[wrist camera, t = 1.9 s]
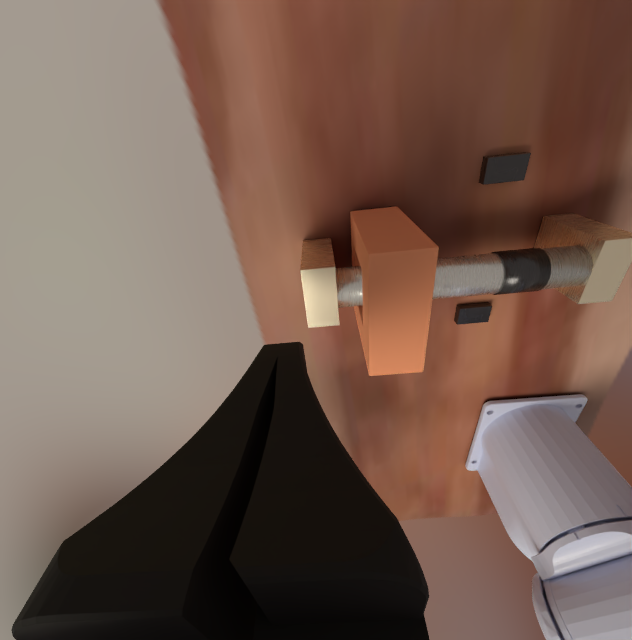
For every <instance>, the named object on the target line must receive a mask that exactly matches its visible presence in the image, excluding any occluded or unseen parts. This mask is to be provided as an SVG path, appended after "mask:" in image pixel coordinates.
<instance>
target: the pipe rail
mask: <svg viewBox="0 0 632 640" xmlns="http://www.w3.org/2000/svg"><path fill="white" fill-rule="evenodd" d="M530 154H531V153H526V152H523V153H514V154H505V155H496V156H487V157H483V163H482V168H481V174H480V179H479V183H481V184H493V183H502V182H511V181H520V180H524V178H525V174H526V170H527V166H528V162H529V158H530ZM631 262H632V233H630V232H628V231H625V230H622V229H619V228H616V227H613V226H610V225H607V224H604V223H601V222H598V221H595V220H592V219H589V218H586V217H583V216H580V215H577V214H575V213H570V214H560V215H550V216H543V219H542V223H541V226H540V229H539V233H538V236H537V239H536V242H535V246H534V248H529V249H518V250H508V251H498V252H492V253H490V254H479V255H469V256H459V257H448V258H438V259H437V266H436V274H435V282H434V290H433V298H432V299H440V298H451V297H462V296H473V295H484V294H494V295H498V294H509V293H520V292H531V291H539V290H541V289H551V288H555V289H556V290H558V291H559V292H561V293H562V294H564V295H565V296H567V297H568V298H570V299H571V300H573V301H574V302H576V303H577V304H585V303H596V302H607V301H612V300H613V298H614V296H615V294H616V292H617V290H618V288H619V286H620V284H621V282H622V280H623V278H624V276H625V274H626V272H627V270H628V268H629V266H630V264H631ZM300 272H301V279H302V286H303V293H304V300H305V308H306V315H307V322H308V328H310V327H322V326H333V325H339V313H338V308H340V307H351V306H363V292H362V269H361V266H355V267H345V268H335V262H334V256H333V249H332V243H331V238H324V239H314V240H304V241H303V246H302V257H301V268H300ZM491 308H492V306H491V305H490V304H489V303H488V302H485V303H474V304H463V305H457V307H456V313H455V319H454V321H455V322H456V324H468V323H479V322H488V320H489V316H490V312H491Z"/></svg>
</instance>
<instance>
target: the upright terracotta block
mask: <svg viewBox="0 0 632 640" xmlns="http://www.w3.org/2000/svg"><path fill="white" fill-rule="evenodd" d="M350 218H351V245H352V267H355V266H361V269H362V292H363V306H354V310H355V314H356V319H357V323H358V328H359V332H360V337H361V341H362V346H363V350H364V355H365V359H366V364H367V368H368V373H369V376H376V375H389V374H401V373H414V372H423V369H424V361H425V354H426V346H427V338H428V330H429V322H430V314H431V306H432V298H433V290H434V282H435V274H436V266H437V259H438V251H439V247H438V246H437V245H436V244H435V243H434V242H433V241H432V240H431V239H430V238H429V237H428V236H427V235H426V234H425V233H424V232H423V231H422V230H421V229H420V228H419V227H418V226H417V225H416V224H415V223H414V222H412V221H411V220H410V219H409V218H408V217H407V216H406V215H405V214H404V213H403V212H402V211H401V210H400V209H399V208H398V207H397V206H396V207H386V208H377V209H367V210H358V211H350Z"/></svg>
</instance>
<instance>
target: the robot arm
mask: <svg viewBox="0 0 632 640" xmlns="http://www.w3.org/2000/svg"><path fill="white" fill-rule="evenodd" d="M587 400H588V399H587V398H586V397H585V396H584V395H582V394H578V395H564V396H550V397H537V398H523V399H510V400H496V401H488V402H486V403H484V405H483V408H482V411H481V414H480V418H479V421H478V425H477V428H476V431H475V435H474V438H473V441H472V445H471V448H470V451H469V455H468V458H467V462H466V468H467V470H470V471H474V470H478V472H479V474H480V476H481V478H482V480H483V483H484V485H485V487H486V489H487V491H488V493H489V495H490V497H491V499H492V502H493V504H494V506H495V508H496V510H497V512H498V514H499V516H500V518H501V520H502V522H503V525H504V527H505V529H506V531H507V533H508V535H509V536H510V538H511V540H512V541H513V542H514V544H515V545H516V546H517V547H518V549H519V550H521V552H522V553H523V554H525V555H526V556H527V557H528V558H529V559H530V560H531V561H533V563H534V565H535V567H536V569H537V571H538V573H537V574H535V576H534V577H533V580H532V599H533V605H534V609H535V612H536V616H537V619H538V621H539V624H540V627H541V629H542V631H543V634H544V636H545V638H546V640H632V487H631V486H630V485H629V484H628V483H627V481H626V480H625V479H624V478H623V477H622V476H621V475H620V474H619V472H618V471H617V470H616V469H615V468H614V467H613V465H612V464H611V463H610V462H609V461H608V460H607V459H606V457H605V456H604V455H603V454H602V453H601V452H600V451H599V450H598V448H597V447H596V446H595V445H594V444H593V443H592V442H591V440H590V439H589V438H588V437H587V436H586V435H585V434H584V432H583V431H582V430H581V429H580V428H579V427H578V426H577V424H576V423H575V422H576V420H577V419H578V417H579V415H580V413H581V412H582V410H583V408H584V406H585V404H586V403H587ZM428 598H429V592H428V586H427V583H426V580H425V577H424V574H423V571H422V569H421V566H420V564H419V562H418V559H417V557H416V555H415V553H414V551H413V549H412V547H411V545H410V543H409V541H408V539H407V537H406V535H405V533H404V531H403V529H402V528H401V526H400V524H399V521H398V519H397V518H396V517H395V515H394V514H393V513H392V512H391V510H390V509H389V508H388V507H387V506H386V504H385V503H384V502H383V501H382V499H381V498H380V497H379V496H378V494H377V493H376V492H375V490H374V489H373V488H372V487H371V485H370V484H369V482H368V481H367V480H366V478H365V477H364V476H363V474H362V473H361V472H360V470H359V469H358V467H357V466H356V464H355V463H354V461H353V460H352V458H351V457H350V455H349V454H348V452H347V451H346V449H345V448H344V446H343V445H342V443H341V442H340V440H339V438H338V437H337V435H336V433H335V432H334V430H333V428H332V426H331V425H330V423H329V421H328V419H327V417H326V415H325V413H324V411H323V409H322V407H321V405H320V403H319V401H318V399H317V397H316V394H315V392H314V390H313V387H312V385H311V382H310V379H309V376H308V374H307V368H306V361H305V355H304V349H303V344H302V343H300V342H292V343H280V344H269V345H264V346H263V347H262V349H261V350H260V352H259V353H258V355H257V357H256V358H255V359H254V361H253V362H252V364H251V365H250V367H249V368H248V370H247V371H246V373H245V374H244V376H243V377H242V379H241V380H240V381H239V383H238V384H237V385H236V387H235V388H234V389H233V391H232V392H231V393H230V394H229V396H228V397H227V398H226V399H225V401H224V402H223V403H222V404H221V406H220V407H219V408H218V409H217V411H216V412H215V413H214V414H213V415H212V416H211V417H210V419H209V420H208V421H207V422H206V423H205V424H204V425H203V426H202V427H201V429H199V431H198V432H197V433H196V434H195V435H194V436H193V437H192V438H191V439H190V440H189V441H188V442H187V443H186V444H185V445H184V446H183V447H182V448H181V449H179V450H178V451H177V452H176V453H175V454H174V455H173V456H172V457H171V458H170V459H169V460H168V461H166V462H165V463H164V464H163V465H162V466H161V467H160V468H159V469H157V470H156V471H155V472H154V473H153V474H152V475H150V476H149V477H148V478H147V479H146V480H144V481H143V482H142V483H141V484H140V485H138V486H137V487H136V488H135V489H133V490H132V491H131V492H130V493H128V494H127V495H126V496H125V497H123V498H122V499H121V500H119V501H118V502H117V503H116V504H114V505H113V506H112V507H110V508H109V509H107V510H106V511H105V512H103V513H102V514H101V515H99V516H98V517H96V518H95V519H94V520H92V521H91V522H90V523H88V524H87V525H86V526H84V527H83V528H81V529H80V530H79V531H77V532H76V533H75V534H73V535H72V536H70V537H69V538H68V539H66V540H65V541H64V542H63V543H62V544H61V546H60V547H59V549H58V550H57V552H56V554H55V555H54V557H53V559H52V560H51V562H50V564H49V565H48V567H47V569H46V570H45V572H44V574H43V575H42V577H41V579H40V581H39V582H38V584H37V585H36V587H35V589H34V590H33V592H32V594H31V595H30V597H29V599H28V600H27V602H26V604H25V606H24V607H23V609H22V611H21V612H20V614H19V616H18V617H17V619H16V621H15V622H14V624H13V627H12V634H13V637H14V638H15V639H16V640H429V635H428V631H427V627H426V622H425V618H424V611H425V608H426V604H427V601H428Z"/></svg>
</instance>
